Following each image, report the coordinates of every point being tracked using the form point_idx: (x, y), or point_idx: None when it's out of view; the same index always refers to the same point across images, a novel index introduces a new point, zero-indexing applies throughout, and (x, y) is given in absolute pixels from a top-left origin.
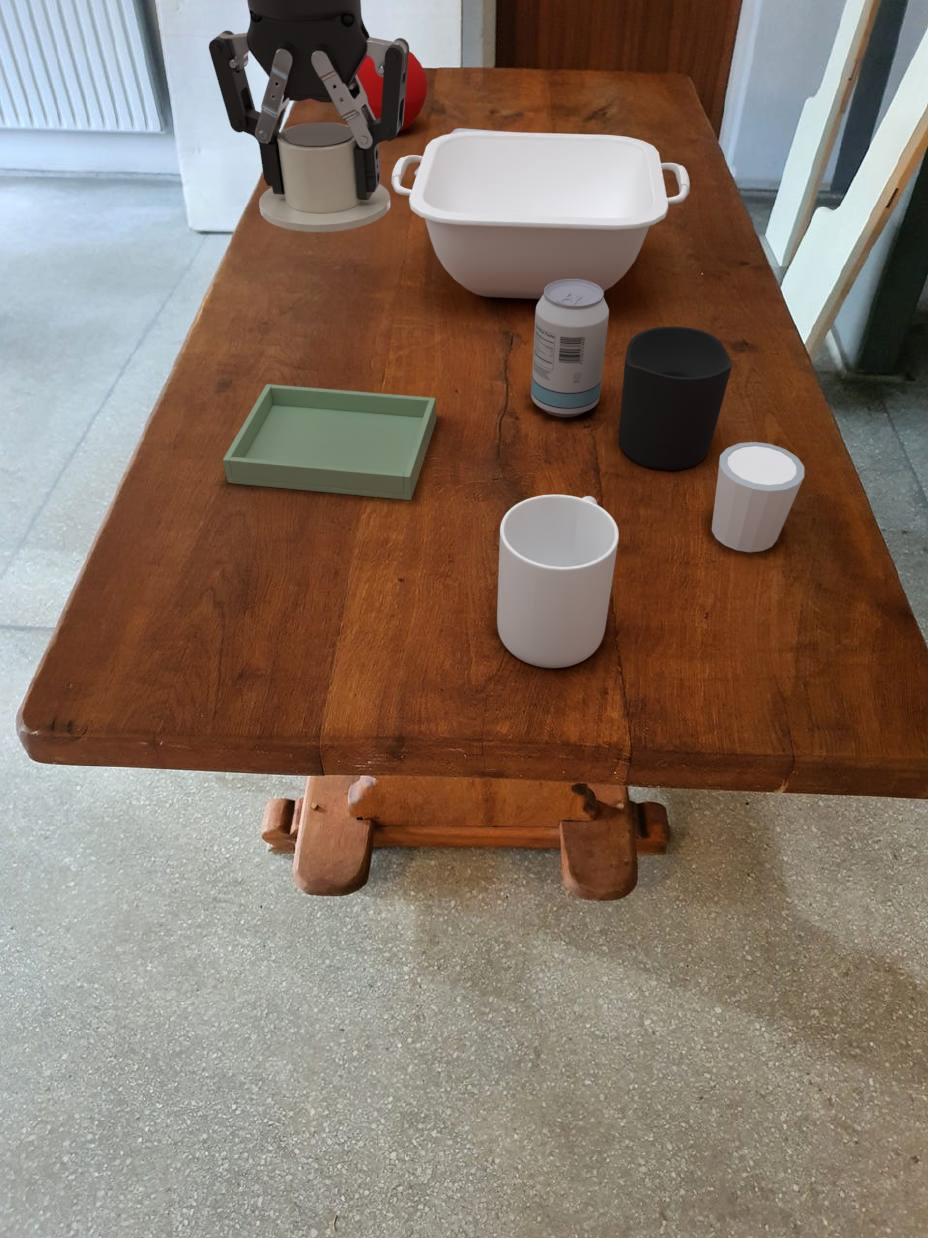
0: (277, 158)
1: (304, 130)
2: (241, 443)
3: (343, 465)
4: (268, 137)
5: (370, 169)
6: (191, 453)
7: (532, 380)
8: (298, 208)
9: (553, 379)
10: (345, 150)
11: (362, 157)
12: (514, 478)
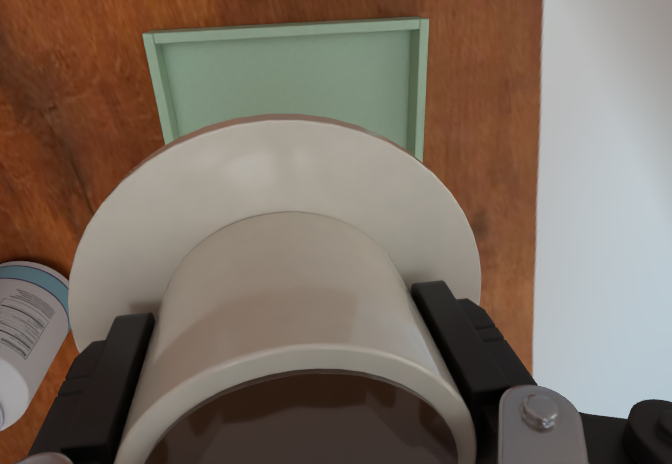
0: (452, 356)
1: None
2: (415, 73)
3: (269, 81)
4: (510, 405)
5: (77, 398)
6: (482, 74)
7: (63, 300)
8: (336, 220)
9: (7, 289)
10: (130, 416)
11: (78, 420)
12: (26, 116)
